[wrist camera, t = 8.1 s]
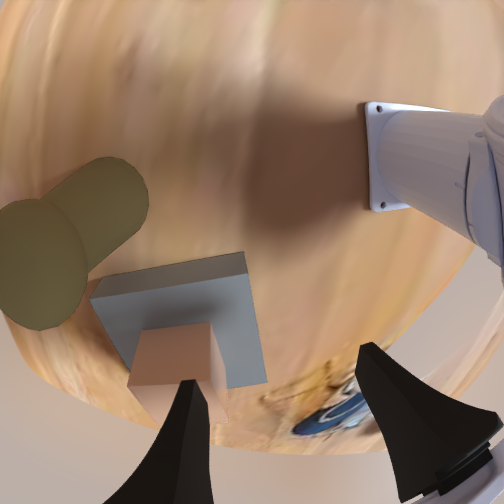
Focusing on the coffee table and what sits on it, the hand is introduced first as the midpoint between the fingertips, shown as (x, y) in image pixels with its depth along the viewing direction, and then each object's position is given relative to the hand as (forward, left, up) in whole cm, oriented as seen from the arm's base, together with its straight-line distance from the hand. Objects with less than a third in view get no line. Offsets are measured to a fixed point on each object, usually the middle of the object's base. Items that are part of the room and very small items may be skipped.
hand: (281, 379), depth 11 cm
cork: (+9, -7, -10) cm, 15 cm away
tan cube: (+6, +4, -7) cm, 10 cm away
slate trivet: (+6, +4, -10) cm, 12 cm away
